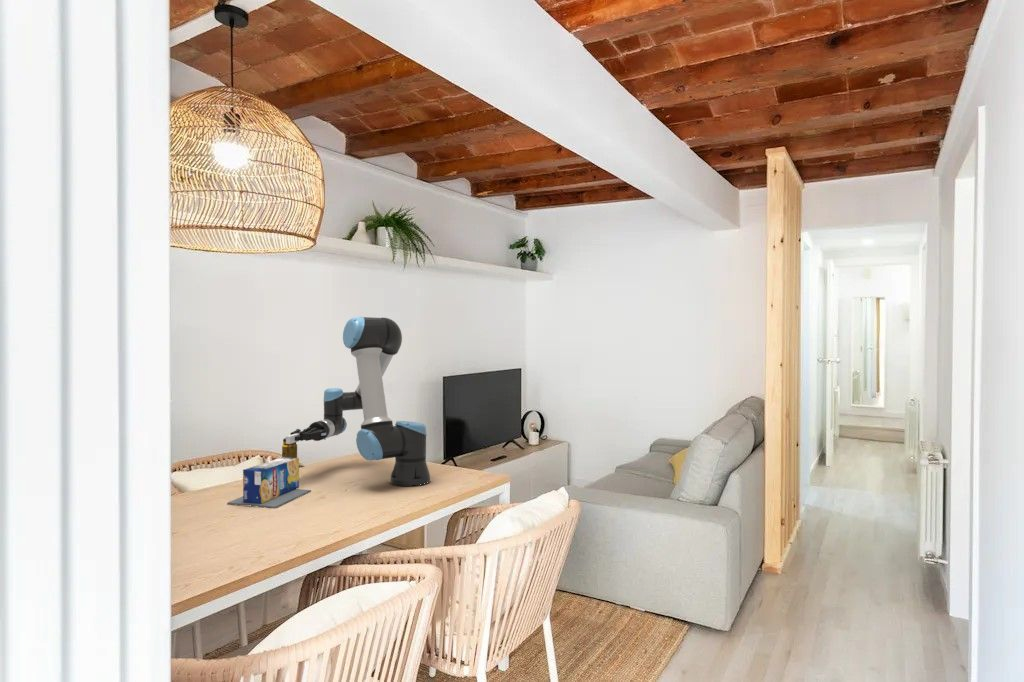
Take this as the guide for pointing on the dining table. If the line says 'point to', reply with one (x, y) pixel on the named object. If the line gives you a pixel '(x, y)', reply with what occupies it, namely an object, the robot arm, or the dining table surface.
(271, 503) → the mat
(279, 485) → the blue cracker box
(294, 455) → the condiment
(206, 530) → the dining table surface
